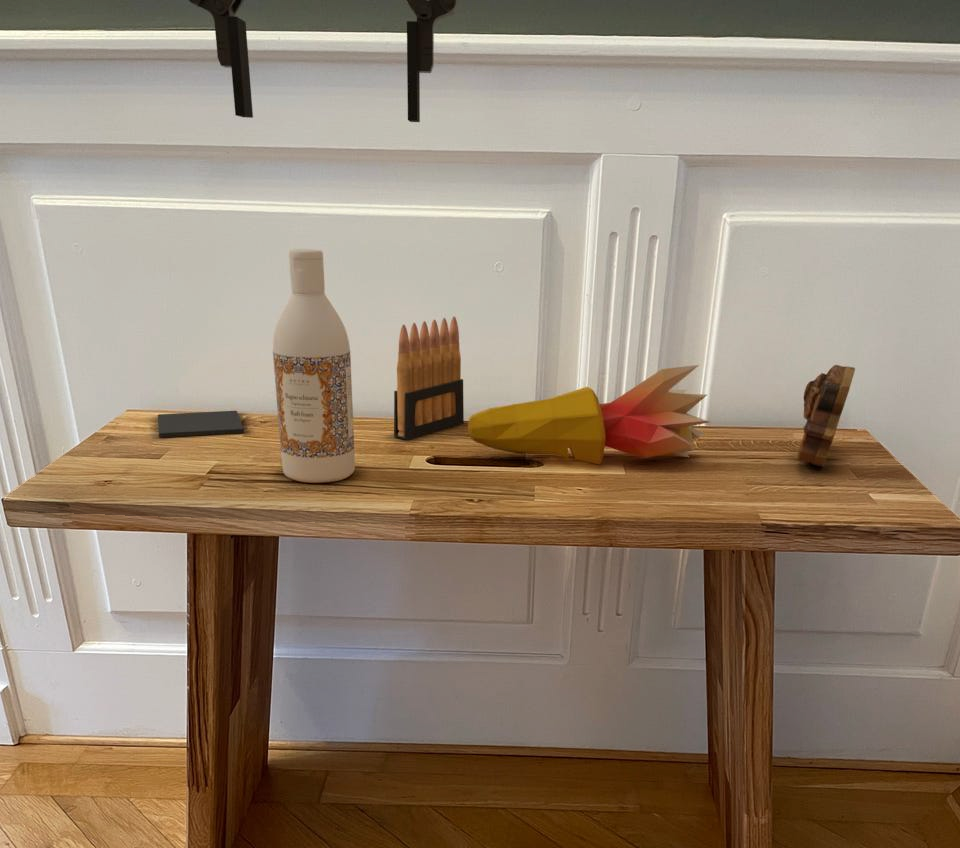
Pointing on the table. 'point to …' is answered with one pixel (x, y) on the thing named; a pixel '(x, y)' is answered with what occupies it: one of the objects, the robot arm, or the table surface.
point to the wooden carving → (823, 412)
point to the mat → (199, 424)
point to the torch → (597, 422)
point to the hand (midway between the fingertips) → (329, 119)
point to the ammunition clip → (428, 381)
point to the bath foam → (313, 379)
